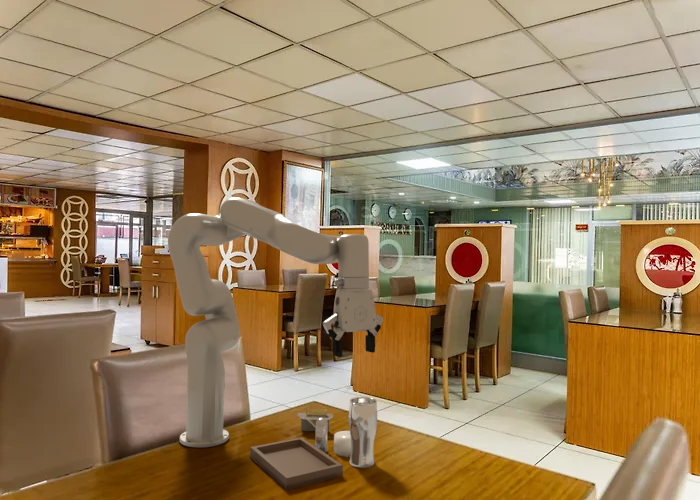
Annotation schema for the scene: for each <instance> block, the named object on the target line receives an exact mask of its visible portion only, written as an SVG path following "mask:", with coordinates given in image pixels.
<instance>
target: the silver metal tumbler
mask: <svg viewBox="0 0 700 500" xmlns="http://www.w3.org/2000/svg"><path fill="white" fill-rule="evenodd" d="M377 427H378V400H377V399H375V398H373V397H368V396H355V397H352V398H351V399H350V400H349V405H348V431H349V432H350V439H351V454H350V457H349V459H348V460H349V465H351V466H352V467H354V468H359V469H366V468H371V467H373V466H374V465H375V456H374V444H375V443H374V442H375V437H376V433H377Z"/></svg>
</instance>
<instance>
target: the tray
mask: <svg viewBox="0 0 700 500" xmlns="http://www.w3.org/2000/svg"><path fill="white" fill-rule="evenodd" d="M249 458H250V459H251V460H252V461H253V462H255V463H256V464H257V465H258V466H259V467H260V468H261V469H263V471H265V472H266V473H267V474H268V475H269V476H270V477H271V478H272V479H274V480H275V481H276V482H277V483H278V484H279V485H280V486H281V487H282V488H283V489H284V490H285V491H288V490H292V489H297V488H301V487H304V486H308V485H312V484H316V483H320V482H324V481H329V480H333V479H336V478H340V477H343V472H344V470H343V469H344V465H343V464H342V463H341V462H339V461H338V460H336V459H335V458H333V457H331V456H330V455H329V454H327V452H326V453H324V452H323V451H321V450H320V449H318V448H317V447H315V444H314V445H313V444H312V443H311V442H309V441H308V440H306V438H303V437H296V438H291V439H286V440H285V439H284V440H281V441H276V442H271V443H264V444H260V445H254V446H251V447H250V455H249Z"/></svg>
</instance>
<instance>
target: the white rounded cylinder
mask: <svg viewBox="0 0 700 500" xmlns="http://www.w3.org/2000/svg"><path fill="white" fill-rule="evenodd" d="M333 453H334V454H335V455H337V456H340V457H347V458H350V454H351V439H350V432H349V430H340V431H337V432H335V433H334V434H333Z"/></svg>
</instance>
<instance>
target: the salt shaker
mask: <svg viewBox="0 0 700 500" xmlns="http://www.w3.org/2000/svg"><path fill="white" fill-rule="evenodd" d="M314 442H315V443H314V446H315V447H317V448H318V449H320V450H321V451H323V452H324V453H326V454H327V453H328V422H327V420H326V419H325V418H319V419H318V420H317V421H316V431H315V441H314Z"/></svg>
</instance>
